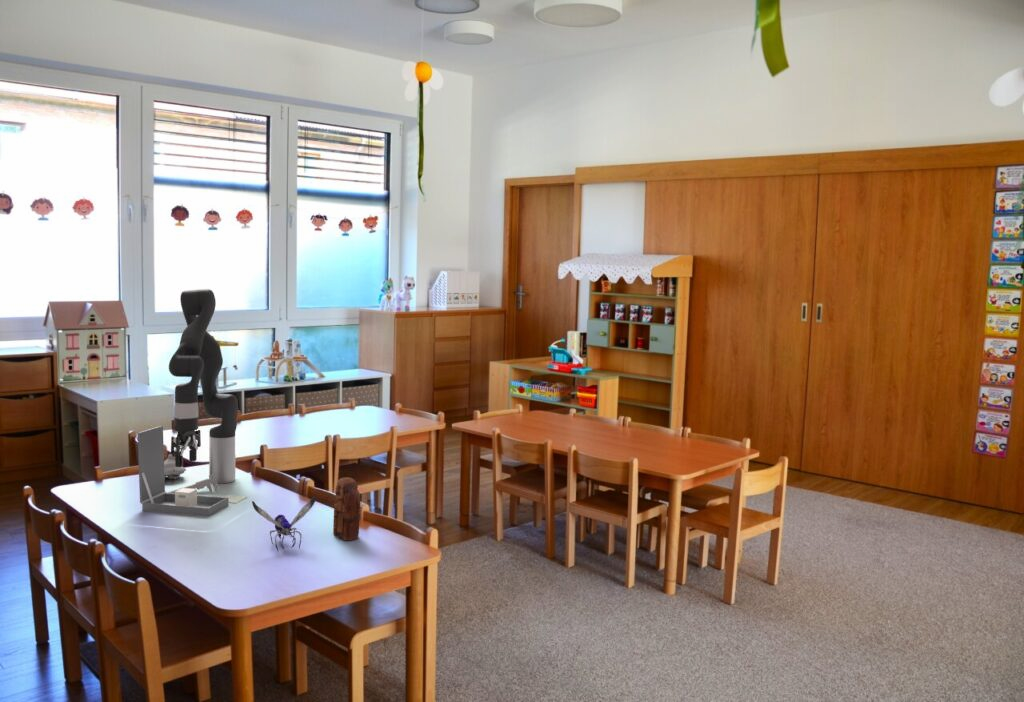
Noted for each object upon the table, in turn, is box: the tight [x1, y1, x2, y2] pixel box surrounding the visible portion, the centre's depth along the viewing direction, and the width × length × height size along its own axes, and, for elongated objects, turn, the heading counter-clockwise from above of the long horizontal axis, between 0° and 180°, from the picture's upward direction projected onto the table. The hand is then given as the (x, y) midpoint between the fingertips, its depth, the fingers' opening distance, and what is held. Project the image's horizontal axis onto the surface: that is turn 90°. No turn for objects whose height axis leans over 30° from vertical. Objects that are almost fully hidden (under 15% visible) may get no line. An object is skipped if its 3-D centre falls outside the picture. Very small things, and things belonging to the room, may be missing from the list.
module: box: [175, 487, 198, 507], centre depth 272 cm, size 5×5×6 cm
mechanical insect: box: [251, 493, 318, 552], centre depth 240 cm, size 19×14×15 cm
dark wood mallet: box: [332, 476, 361, 542], centre depth 251 cm, size 12×6×18 cm, turn 37°
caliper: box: [166, 474, 218, 493], centre depth 290 cm, size 21×1×6 cm, turn 129°
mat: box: [222, 494, 248, 504], centre depth 284 cm, size 8×8×1 cm
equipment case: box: [137, 425, 229, 517], centre depth 271 cm, size 13×25×26 cm, turn 82°
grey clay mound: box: [164, 453, 187, 480], centre depth 309 cm, size 12×12×11 cm
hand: (186, 463), depth 271 cm, fingers open, 8 cm apart
